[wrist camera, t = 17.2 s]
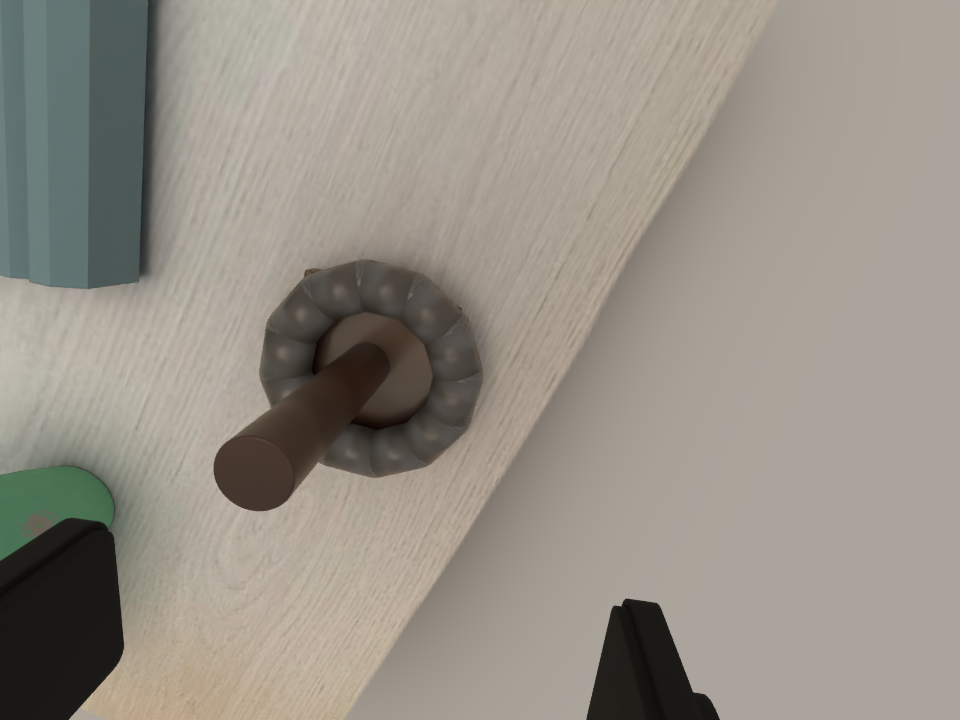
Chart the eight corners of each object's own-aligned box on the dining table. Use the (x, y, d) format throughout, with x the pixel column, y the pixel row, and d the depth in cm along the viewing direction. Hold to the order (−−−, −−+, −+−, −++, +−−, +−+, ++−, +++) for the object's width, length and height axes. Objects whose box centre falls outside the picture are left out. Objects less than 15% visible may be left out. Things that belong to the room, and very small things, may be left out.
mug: (-27, 431, 29) (-287, 531, 20) (131, 422, 29) (-59, 519, 19) (48, 637, 33) (-141, 805, 23) (189, 632, 32) (54, 804, 23)
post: (313, 267, 26) (127, 304, 13) (462, 308, 26) (419, 382, 13) (289, 407, 28) (108, 555, 15) (427, 443, 28) (361, 621, 15)
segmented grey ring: (292, 235, 24) (270, 236, 22) (505, 293, 25) (505, 300, 22) (261, 433, 27) (238, 452, 25) (453, 483, 27) (447, 507, 25)
